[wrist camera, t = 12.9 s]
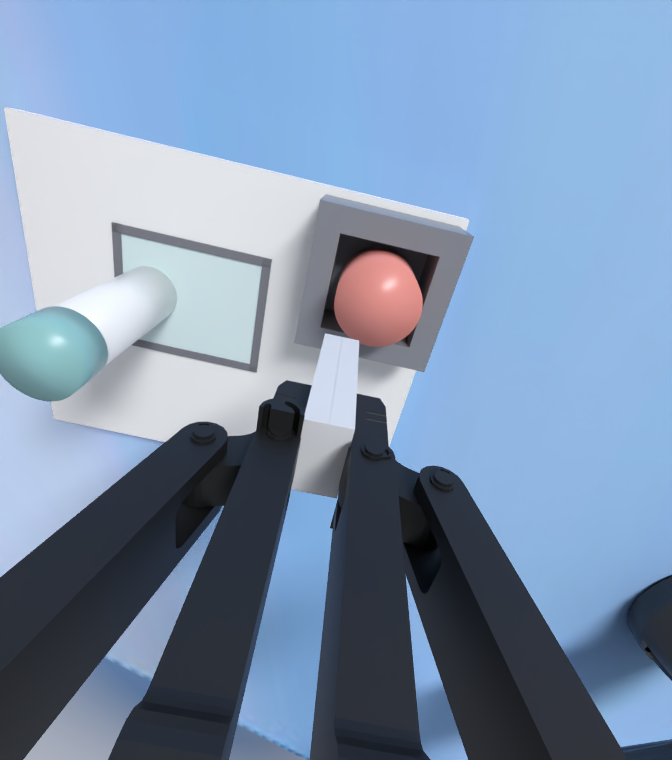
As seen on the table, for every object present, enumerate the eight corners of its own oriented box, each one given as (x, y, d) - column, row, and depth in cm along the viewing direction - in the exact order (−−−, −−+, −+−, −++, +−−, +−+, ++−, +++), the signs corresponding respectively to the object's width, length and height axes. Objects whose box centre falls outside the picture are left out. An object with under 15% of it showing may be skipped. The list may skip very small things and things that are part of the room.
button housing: (417, 348, 31) (424, 372, 27) (302, 321, 30) (294, 343, 27) (459, 226, 26) (473, 236, 23) (326, 194, 26) (319, 199, 23)
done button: (401, 327, 28) (407, 354, 24) (331, 311, 28) (326, 336, 24) (424, 256, 26) (434, 273, 22) (348, 238, 25) (344, 252, 21)
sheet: (374, 477, 39) (375, 487, 38) (62, 411, 37) (52, 419, 36) (465, 218, 27) (470, 220, 26) (18, 109, 26) (1, 106, 25)
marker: (178, 325, 31) (83, 408, 21) (123, 313, 31) (0, 392, 20) (178, 271, 29) (74, 334, 19) (120, 258, 29) (-19, 314, 18)
